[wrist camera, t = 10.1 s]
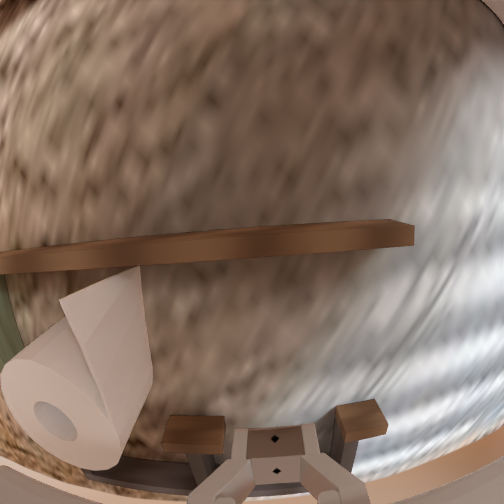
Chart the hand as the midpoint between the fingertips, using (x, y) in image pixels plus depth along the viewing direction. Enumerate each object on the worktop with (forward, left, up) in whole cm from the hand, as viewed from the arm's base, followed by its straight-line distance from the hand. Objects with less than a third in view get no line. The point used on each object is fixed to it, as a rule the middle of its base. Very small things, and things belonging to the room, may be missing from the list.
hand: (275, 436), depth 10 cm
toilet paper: (+10, 0, -9) cm, 13 cm away
